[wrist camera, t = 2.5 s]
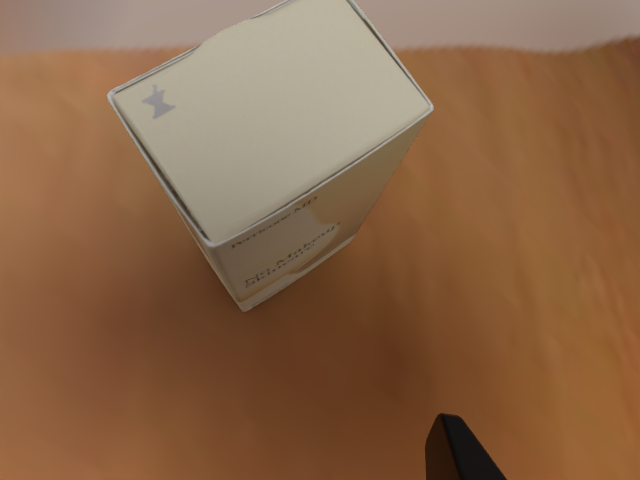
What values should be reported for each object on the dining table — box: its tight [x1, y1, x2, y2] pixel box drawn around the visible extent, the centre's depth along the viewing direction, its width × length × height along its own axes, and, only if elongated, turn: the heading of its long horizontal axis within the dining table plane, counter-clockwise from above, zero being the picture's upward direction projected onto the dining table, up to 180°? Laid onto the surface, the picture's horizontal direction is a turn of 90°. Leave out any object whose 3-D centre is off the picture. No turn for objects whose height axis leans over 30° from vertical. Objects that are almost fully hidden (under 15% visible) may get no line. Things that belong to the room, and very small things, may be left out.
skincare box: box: [107, 0, 434, 312], centre depth 16 cm, size 6×4×12 cm
